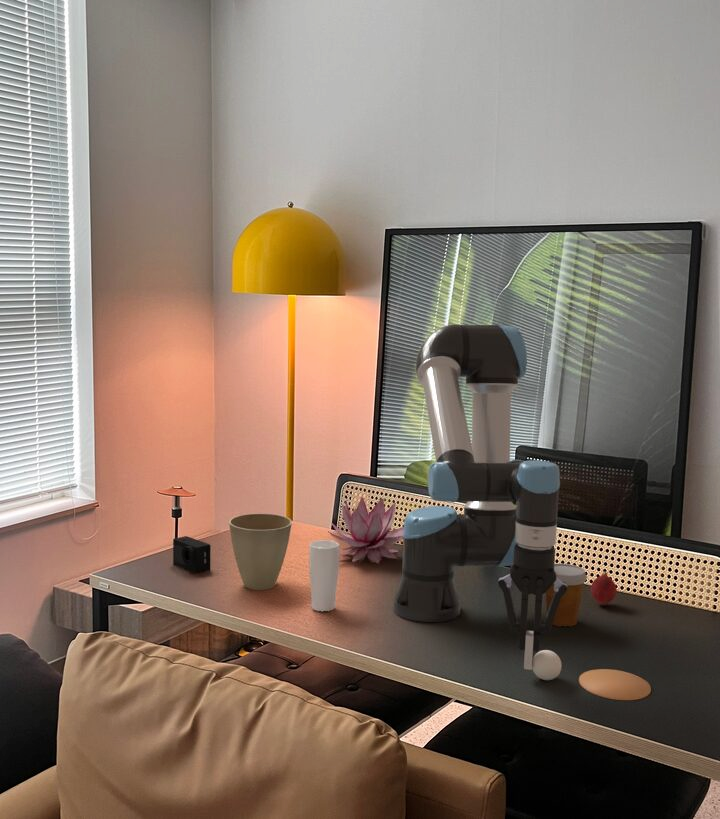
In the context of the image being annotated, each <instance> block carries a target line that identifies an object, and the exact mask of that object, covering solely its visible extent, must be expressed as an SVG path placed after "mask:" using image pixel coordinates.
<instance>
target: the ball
mask: <svg viewBox="0 0 720 819" xmlns="http://www.w3.org/2000/svg"><path fill="white" fill-rule="evenodd" d="M561 671H562V660H561V658H560V657H559V655H558V654H557V653H555V652H554V651H552V650H549V649H543V650H538V652H537V653H535V654H534V656H532V672H533V673H534V675H535V676H536V677H538V678H539V679H540V680H544V681H551V680H554V679H556V678H557V677H559V675H560V673H561Z"/></svg>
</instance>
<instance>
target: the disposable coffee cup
mask: <svg viewBox="0 0 720 819" xmlns="http://www.w3.org/2000/svg"><path fill="white" fill-rule="evenodd" d="M554 571H555V573H556V578H558V579H559V580H560V581H562V582H566V583H567V591H566V592H565V594H564V595H563V596H562V597H561V600H560V603H559V606H558V609H557V612H556V615H555V618H554V621H553V624H552V626H556V625H557V626H556V627H561V626H565V627H566V626H570V627H573V625H574V626H576V625H577V622H578V617H579V611H580V605H581V600H582V596H583V591H584V585H585V583H586V580H587V579H588V576H587V574H586V570H585V569H584V568H583V567H581V566H578V565H575V564H570V563H554ZM554 592H555V591H554V583H553V584H552V585H551V587H550V588H549V589H548V590H547V591H546V592H545V604H546V614H547V613H548V610H549V607H550V604H551V601H552V598H553V595H554ZM575 624H576V625H575ZM565 627H564V628H565ZM566 628H567V627H566Z"/></svg>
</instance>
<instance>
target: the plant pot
mask: <svg viewBox="0 0 720 819" xmlns="http://www.w3.org/2000/svg"><path fill="white" fill-rule="evenodd" d="M292 524H293V521H292V519H291V518H289V517H287V516H285V515H281V514H274V513H258V512H257V513H247V514H239V515H237V516H233V517H232V518H230V519H229V521H228V525H229V532H230V533H229V534H230V539H231V545H232V549H233V550H232V551H233V553H234V554H233V555H234V558H235V561H236V566H237V569H238V572H239V575H240V578H241V581H242V583H243V585H244V587H245V588H247V589H249V590H253V591H254V590H255V591H264V590H265V589H266V590H269V589H272V588H274V587H275V585H276V583H277V580H278V578H279V576H280V573H281V570H282V566H283V563H284V560H285V557H286V554H287V549H288V547H289V546H288V545H289V541H290V537H291V532H292V531H291V529H292ZM266 590H265V591H266Z"/></svg>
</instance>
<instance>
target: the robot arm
mask: <svg viewBox="0 0 720 819" xmlns="http://www.w3.org/2000/svg"><path fill="white" fill-rule="evenodd" d="M526 348H527V347H526V342H525V339H524V337H523V335H522V333H521V330H519V329H518V328H517V327H515V326H511V325H501V324H458V323H457V324H448V325H444V326H442V327H440V328H438V329H436V330H435V331H433V332H432V333H431V334H430V335H429V336H428V337H427V338H426V340H424V342H423V343H422V345H421V347H420V348H419V351H418V353H417V356H416V361H415V371H416V377H417V381H418V383H419V384H420V385H421V386H422V387H423V392H424V398H425V404H426V411H427V415H428V422H429V427H430V433H431V440H432V445H433V450H434V456H435V462H433V463H431V464H430V465H429V467H428V472H427V484H428V485H427V489H428V494H429V496H430V499H432V500H433V501H436V502H446V503H447V502H448V503H455V502H456V503H457V502H466V503H465V504H464V506H463V508H464V509H463V510H464V511H463V513H461V514H460V513H459V514H458V512H457V510H456V509H455V508H454V507H451V506H442V505H432V506H431V505H430V506H424V507H419V508H416V509H414V510H411V511H410V512H408V513H407V514H406V516H405V517H404V522H403V527H404V529H403V533H402V536H403V539H402V540H403V541H402V542H403V544H402V563H401V564H402V569H401V577H400V581H399V583H398V586H397V587H396V588H397V589H396V591H395V594H394V596H393V599H392V600H393V601H392V604H393V606H392V609H393V612H394V613H395V614H396V615H397V616H399V617H401V618H403V619H407V620H410V621H415V622H421V623H422V622H423V623H440V622H446V621H451V620H453V619H455V618H457V617H459V615H460V614H461V601H460V597H459V593H458V590H457V586H456V582H455V578H454V577H455V576H454V575H455V567H493V568H499V567H509V566H512V567H511V569H510V571H509V573H508V574H507V575H504V576H499V577H498V582H497V585H498V586H499V588H500V590H501V591H502V594H503V598H504V604H505V608H506V612H507V618H508V624H509V628H510V629H511V631H516V632H517V633H518V635H519V637H518V638H519V639H518V640H519V641H518V648H519V651H524V658H523V659H524V661H523V662H524V664H523V670H529V671H531V670H532V671H533V669H532V660H533V654H534V653H533V652H537V653H538V652H539V651H540V642H541V641H540V640H541V639H540V638H541V636H542V635H543V634H549V633H550V632H551V629H552V626H553V621H554V618H555V615H556V612H557V609H558V606H559V603H560V600H561V597H562V596H563V595H564V594H565V592H566V591H567V583H566V582H562V581H560V580H559V579H558V578H556V573H555V571H554V564H556V563H555V562H556V560H555V559H556V548H555V545H556V543H557V528H558V527H557V526H558V522H557V521H558V508H559V494H560V487H561V481H560V476H561V474H560V467H559V466H558V464H556V463H554V462H550V461H547V460H533V459H532V460H523V459H512V460H511V418H512V417H511V413H512V412H511V410H512V409H511V408H512V406H511V404H512V403H511V402H512V392H513V391H514V390H515V389H516V388H517V387H518V386H519V382H518V381H519V379H521V378H523V377H525V375H526V373H527V366H528V354H527V349H526ZM461 377H462V378H463V377H464V378H465V386H466V387H467V388H468V389H469V390H470V392H471V393H472V399H471V400H472V404H471V405H472V408H471V410H472V412H471V414H472V415H471V416H472V417H471V436H470V432H469V427H468V422H467V417H466V412H465V407H464V402H463V397H462V392H461V388H460V382H459V379H460V378H461ZM514 503H516V505H515V504H514ZM512 582H513V583H514V584H515V586H516V588H517V589H518V590H519V592H521V602H520V622H518V620H517V616H516V611H515V607H514V601H513V596H512V590H511V587H512ZM553 583H554V591H555V592H554V595H553V598H552V601H551V604H550V607H549V610H548V613H547V612H546V616H545V619H544V622H543V624H542V623H541V622H542V608H543V595H545V594H546V591H547V590H548V589H549V588H550V587H551V585H552V584H553ZM529 595H534V596H535V599H534V613H533V614H534V616H533V618H534V619H533V630H527V627H528V626H527V625H528V612H529V611H528V610H529V609H528V607H529Z"/></svg>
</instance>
